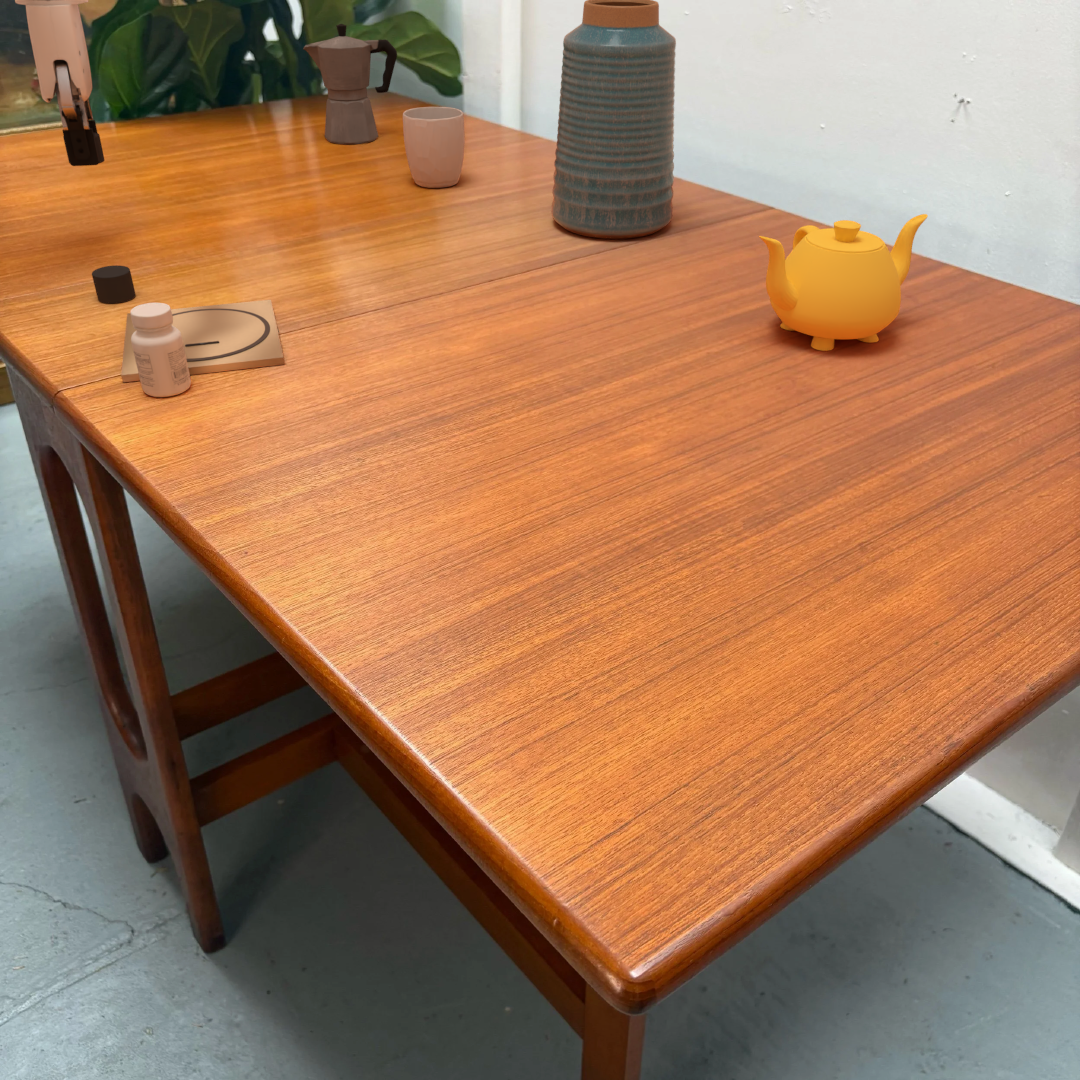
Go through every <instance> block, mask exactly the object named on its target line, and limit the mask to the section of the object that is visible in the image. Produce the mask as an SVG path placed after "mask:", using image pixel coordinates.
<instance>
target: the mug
mask: <svg viewBox="0 0 1080 1080" xmlns="http://www.w3.org/2000/svg"><path fill="white" fill-rule="evenodd" d="M402 129H403V131H402V132H403V142H404V143H403V144H404V149H405V155H406V160H407V165H408V168H409V171H410V175H411V177H412V179H413V181H414V183H415V184H416V185H417V186H419V187H422V188H428V189H439V188H440V189H441V188H448V187H452V186H455V185H457V184H458V183H459V180H460V178H461V174H462V171H463V164H464V158H465V142H466V141H465V140H466V138H465V136H466V135H465V117H464V112H463V111H462V110H461V109H458V108H456V107H450V106H423V107H413V108H410V109H406V110H405V111H403V112H402Z"/></svg>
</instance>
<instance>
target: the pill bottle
mask: <svg viewBox="0 0 1080 1080" xmlns="http://www.w3.org/2000/svg"><path fill="white" fill-rule="evenodd" d="M171 309H172V308H171V306H170V305H169V304H167V303H164V302H147V303H141V304H138V305H135V306H134V307H132V308H131V309H130V312H129V313H131V319H132V323H133V327H134V328H135V329H136V331H135V332H134V333H133V334H132V336H131V343H132V348H133V352H134V356H135V360H136V365H137V369H138V373H139V377H140V381H139V382H140V385H141V389H142V391H143V392H144V393H145V394H146V395H148V396H150V397H153V398H168V397H173V396H177V395H180V394H182V393H184V392H186V391H188V390H189V389H190V387H191V385H192V379H191V375H190V374H189V369H188V364H187V359H186V354H185V350H184V345H183V340H182V335H181V332H180V331H179V330H178V329H177V328H176V327H174V326H171V325H172V324H173V316H172V312H171Z"/></svg>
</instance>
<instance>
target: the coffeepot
mask: <svg viewBox="0 0 1080 1080" xmlns="http://www.w3.org/2000/svg"><path fill="white" fill-rule="evenodd" d="M335 28H336V30H337V34H338V36H335V37H332V38H329V39H325V40H321V41H316V42H312V43H309V44H305V45H304V46H303V51H306V52H307V53H308V55H309V56H310V57H311V59H312V60H313V62H314V64H315V65H316V67H317V68H318V69H319V71H320V74H321V78H322V82H323V86H324V88H326V89H327V99H326V104H325V105H326V107H325V126H324V128H325V129H324V138H325V140H326V141H327V142H329V143H332V144H336V145H361V144H362V145H363V144H368V143H371V142H375V141H376V140H377V139H378V138H379V132H378V129H377V128H378V127H377V124H376V119H375V115H374V112H373V107H372V103H371V100H370V98H369V97H368V90H367V88H368V87H370V81H371V79H370V77H371V59H372V54H378V53H382V52H385V53H386V58H385V63H384V71H383V73H382V85H380V86H375V87H374V89H375V91H376V93H378V94H384V93H388V91H389V89H390V85H391V83H392V81H391V80H392V78H393V73H394V70H395V66H396V61H397V58H398V52H397V49H396V48H395V46H394V45H393V44H392V43H391V42H390V41H389V40H388V39H368V40H367V39H366V40H362V39H360V38H359V39H358V38H355V37H351V36H347V24H343V23H339V24H337V25H336V27H335Z"/></svg>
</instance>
